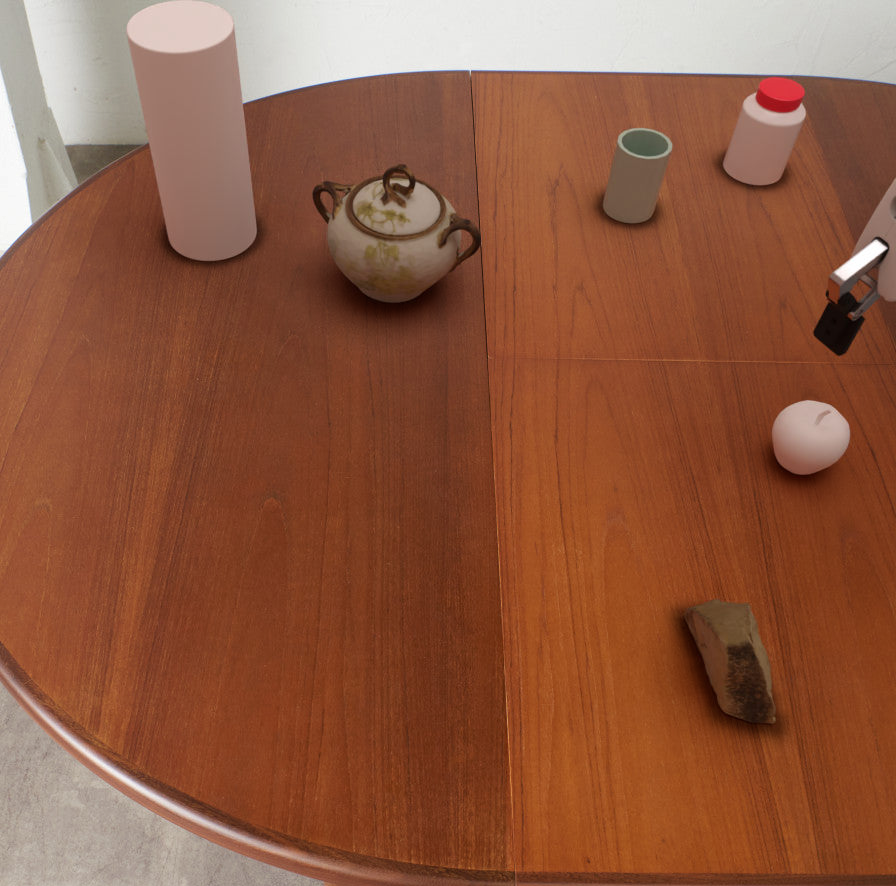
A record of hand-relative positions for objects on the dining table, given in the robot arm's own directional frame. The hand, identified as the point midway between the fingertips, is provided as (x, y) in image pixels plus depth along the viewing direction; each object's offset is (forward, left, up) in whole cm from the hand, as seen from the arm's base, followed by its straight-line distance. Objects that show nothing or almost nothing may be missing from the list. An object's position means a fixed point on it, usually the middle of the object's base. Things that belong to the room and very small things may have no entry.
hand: (869, 325), depth 79 cm
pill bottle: (-32, -40, -18) cm, 54 cm away
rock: (+21, +14, -18) cm, 31 cm away
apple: (-1, 0, -18) cm, 18 cm away
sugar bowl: (+21, -43, -18) cm, 51 cm away
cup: (-12, -41, -18) cm, 46 cm away
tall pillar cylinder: (+36, -61, -18) cm, 73 cm away
